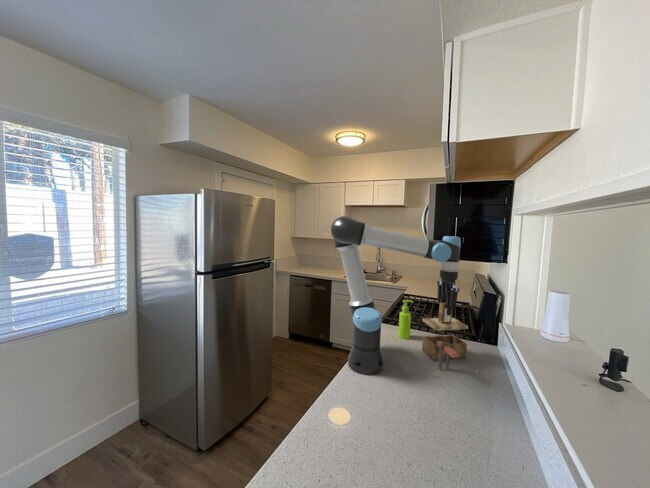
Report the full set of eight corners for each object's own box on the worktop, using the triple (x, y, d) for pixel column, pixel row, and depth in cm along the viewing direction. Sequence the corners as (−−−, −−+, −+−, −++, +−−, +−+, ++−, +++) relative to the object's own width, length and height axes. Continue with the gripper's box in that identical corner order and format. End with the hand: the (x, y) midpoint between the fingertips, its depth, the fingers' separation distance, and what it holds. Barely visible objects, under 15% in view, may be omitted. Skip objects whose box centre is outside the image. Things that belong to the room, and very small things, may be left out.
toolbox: (439, 369, 115) (441, 343, 114) (419, 350, 132) (420, 327, 130) (476, 366, 118) (478, 341, 117) (451, 348, 135) (453, 325, 133)
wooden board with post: (434, 332, 120) (436, 307, 119) (421, 323, 131) (423, 300, 130) (467, 331, 123) (470, 306, 122) (453, 322, 134) (455, 299, 133)
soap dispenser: (413, 339, 143) (415, 302, 141) (399, 339, 143) (401, 302, 141) (409, 334, 149) (411, 299, 147) (397, 334, 149) (398, 298, 147)
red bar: (452, 357, 108) (453, 353, 108) (436, 344, 119) (437, 340, 119) (457, 357, 109) (457, 353, 108) (440, 344, 119) (441, 340, 119)
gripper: (468, 273, 117) (463, 326, 120) (446, 267, 133) (442, 313, 135) (452, 273, 116) (447, 327, 118) (432, 266, 131) (428, 314, 134)
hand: (444, 319), depth 127 cm, fingers closed on wooden board with post, 3 cm apart
